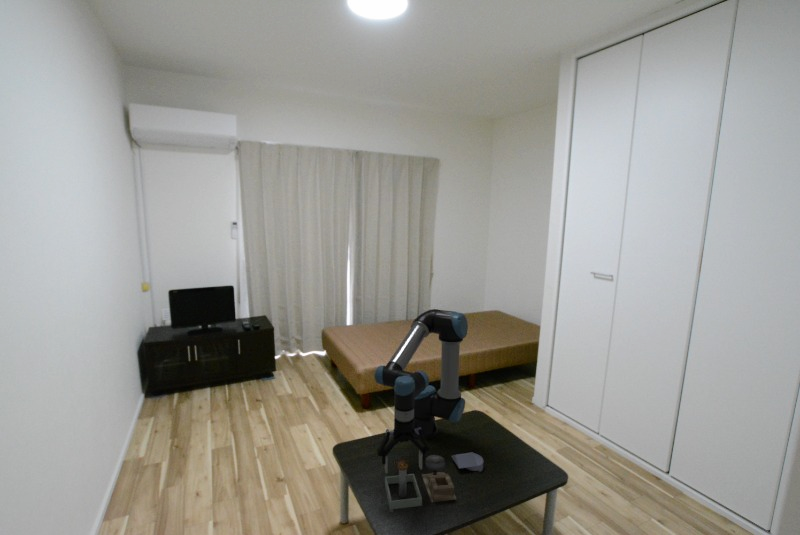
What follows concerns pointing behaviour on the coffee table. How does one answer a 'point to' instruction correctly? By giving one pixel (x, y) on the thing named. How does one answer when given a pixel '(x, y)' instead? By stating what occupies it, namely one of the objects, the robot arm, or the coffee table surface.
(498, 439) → the coffee table surface
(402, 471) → the lock pin
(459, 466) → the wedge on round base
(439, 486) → the block
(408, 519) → the coffee table surface
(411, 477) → the tray
